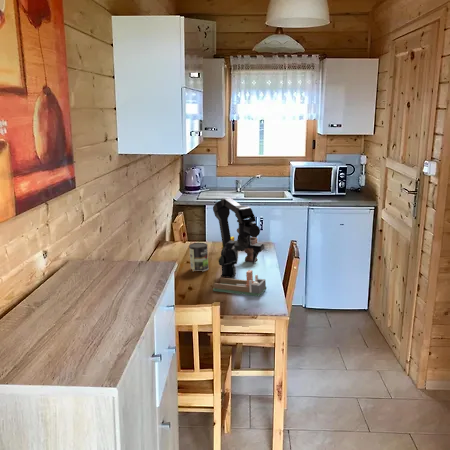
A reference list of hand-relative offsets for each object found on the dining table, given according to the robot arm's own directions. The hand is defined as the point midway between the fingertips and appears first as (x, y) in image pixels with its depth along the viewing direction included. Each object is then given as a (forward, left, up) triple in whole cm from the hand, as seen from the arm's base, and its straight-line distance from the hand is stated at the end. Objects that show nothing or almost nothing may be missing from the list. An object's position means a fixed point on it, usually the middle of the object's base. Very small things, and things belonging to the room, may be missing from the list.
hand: (245, 262), depth 243 cm
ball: (+7, -6, -10) cm, 13 cm away
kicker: (+1, -6, -11) cm, 13 cm away
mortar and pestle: (-14, +39, -13) cm, 44 cm away
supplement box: (-30, +47, -13) cm, 58 cm away
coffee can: (-35, +17, -13) cm, 41 cm away
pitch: (-1, -6, -13) cm, 14 cm away
